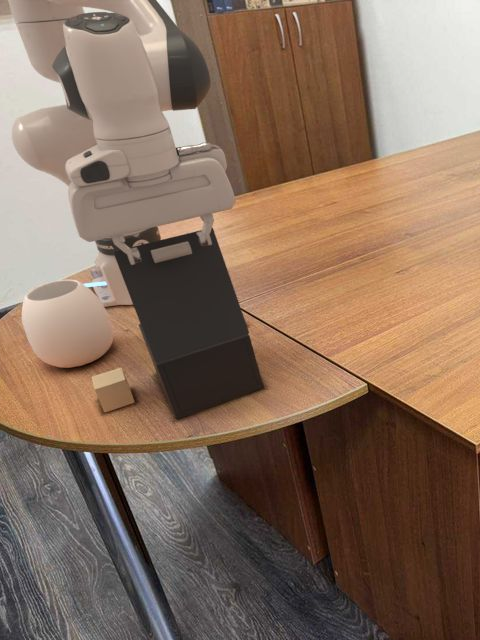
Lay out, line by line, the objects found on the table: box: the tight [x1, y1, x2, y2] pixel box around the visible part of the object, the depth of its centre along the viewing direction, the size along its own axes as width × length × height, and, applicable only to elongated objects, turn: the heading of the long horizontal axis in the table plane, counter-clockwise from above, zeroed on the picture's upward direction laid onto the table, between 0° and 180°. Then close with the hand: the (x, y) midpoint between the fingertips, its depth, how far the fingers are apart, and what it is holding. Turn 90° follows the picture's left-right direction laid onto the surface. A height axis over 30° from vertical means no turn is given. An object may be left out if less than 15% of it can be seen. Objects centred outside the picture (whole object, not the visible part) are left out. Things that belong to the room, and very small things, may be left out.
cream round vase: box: [21, 279, 115, 369], centre depth 115 cm, size 13×13×14 cm
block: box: [91, 367, 136, 413], centre depth 104 cm, size 4×4×4 cm
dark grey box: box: [138, 323, 265, 420], centre depth 106 cm, size 16×14×10 cm
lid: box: [113, 227, 250, 363], centre depth 94 cm, size 17×14×5 cm
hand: (171, 253), depth 91 cm, fingers open, 8 cm apart
